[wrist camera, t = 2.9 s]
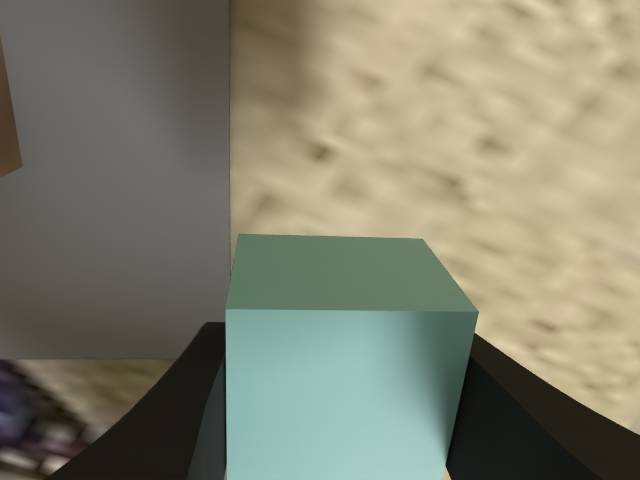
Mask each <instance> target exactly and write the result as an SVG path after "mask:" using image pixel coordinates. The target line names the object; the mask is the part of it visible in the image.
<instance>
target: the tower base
mask: <svg viewBox="0 0 640 480" xmlns="http://www.w3.org/2000/svg"><path fill="white" fill-rule="evenodd" d="M21 167H23V164H22V158H21V153H20V147H19V141H18V135H17V129H16V123H15V117H14V112H13V106H12V100H11V94H10V88H9V82H8V77H7V71H6V65H5V59H4V53H3V47H2V41H1V36H0V178H2V177H4V176H5V175H7V174H9V173H11V172H13V171H15V170H17V169H19V168H21Z"/></svg>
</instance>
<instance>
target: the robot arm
mask: <svg viewBox="0 0 640 480" xmlns="http://www.w3.org/2000/svg"><path fill="white" fill-rule="evenodd" d="M445 466H446V468H447V471H448V473H449V475H450V478H451V480H640V435H638V434H636V433H634V432H632V431H630V430H628V429H627V428H625V427H623V426H621V425H619V424H617V423H615V422H613V421H612V420H610V419H608V418H606V417H604V416H602V415H600V414H598V413H597V412H595V411H593V410H591V409H590V408H588V407H586V406H584V405H583V404H581V403H579V402H577V401H576V400H574V399H573V398H571V397H569V396H568V395H566V394H564V393H563V392H561V391H560V390H558V389H556V388H555V387H553V386H552V385H550V384H548V383H547V382H545V381H544V380H542V379H541V378H539V377H538V376H536V375H535V374H533V373H532V372H530V371H529V370H527V369H526V368H524V367H523V366H521V365H520V364H519V363H517V362H516V361H514V360H513V359H511V358H510V357H508V356H507V355H506V354H504V353H503V352H501V351H500V350H498V349H497V348H496V347H494V346H493V345H491V344H490V343H489V342H487V341H486V340H484V339H483V338H481V337H480V336H478V335H477V334H476V333H474V336H473V341H472V345H471V350H470V354H469V359H468V364H467V368H466V373H465V377H464V382H463V387H462V391H461V396H460V400H459V405H458V410H457V414H456V419H455V423H454V428H453V433H452V437H451V442H450V446H449V451H448V456H447V460H446V465H445ZM44 480H227V425H226V322H206V323H205V324H204V325H203V326H202V327H201V328H200V330H199V331H198V333H197V334H196V335H195V337H194V338H193V340H192V341H191V342H190V344H189V345H188V346H187V348H186V349H185V350H184V351H183V353H182V354H181V355H180V356H179V358H178V359H177V360H176V361H175V362H174V364H173V365H172V366H171V367H170V368H169V369H168V371H167V372H166V373H165V374H164V375H163V377H162V378H161V379H160V380H159V381H158V382H157V383H156V384H155V385H154V386H153V387H152V388H151V389H150V390H149V391H148V392H147V394H146V395H145V396H144V397H143V398H142V399H141V400H140V401H139V402H138V403H137V404H136V405H135V406H134V407H133V408H132V409H131V410H130V411H129V412H128V413H127V414H126V415H124V416H123V417H122V418H121V419H120V420H119V421H118V422H117V423H116V424H115V425H114V426H112V427H111V428H110V429H109V430H108V431H107V432H105V433H104V434H103V435H102V436H101V437H100V438H98V439H97V440H96V441H95V442H94V443H92V444H91V445H90V446H89V447H87V448H86V449H85V450H83V451H82V452H81V453H79V454H78V455H77V456H75V457H74V458H73V459H71V460H70V461H69V462H67V463H66V464H65V465H63V466H62V467H61V468H59V469H58V470H57V471H55V472H54V473H53V474H51V475H50V476H48V477H47V478H45V479H44Z"/></svg>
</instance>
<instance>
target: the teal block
mask: <svg viewBox="0 0 640 480" xmlns="http://www.w3.org/2000/svg"><path fill="white" fill-rule="evenodd" d="M478 313H479V311H478V310H477V309H476V308H475V306H474V305H473V304H472V302H471V301H470V300H469V298H468V297H467V296H466V295H465V293H464V292H463V291H462V289H461V288H460V287H459V285H458V284H457V283H456V282H455V280H454V279H453V278H452V276H451V275H450V274H449V272H448V271H447V270H446V269H445V267H444V266H443V265H442V263H441V262H440V261H439V259H438V258H437V257H436V256H435V254H434V253H433V252H432V250H431V249H430V248H429V247H428V245H427V244H426V243H425V241H424V240H423V239H410V238H374V237H337V236H300V235H263V234H238V239H237V245H236V251H235V257H234V263H233V269H232V274H231V280H230V286H229V292H228V298H227V304H226V425H227V480H442V479H443V474H444V469H445V465H446V460H447V456H448V451H449V446H450V442H451V437H452V433H453V428H454V423H455V419H456V414H457V410H458V405H459V400H460V396H461V391H462V387H463V382H464V377H465V373H466V368H467V364H468V359H469V354H470V350H471V345H472V341H473V336H474V331H475V327H476V322H477V318H478Z"/></svg>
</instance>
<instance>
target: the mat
mask: <svg viewBox="0 0 640 480" xmlns="http://www.w3.org/2000/svg"><path fill="white" fill-rule="evenodd" d="M0 36H1V41H2V47H3V53H4V59H5V65H6V71H7V77H8V82H9V88H10V94H11V100H12V106H13V112H14V117H15V123H16V129H17V135H18V141H19V147H20V153H21V158H22V164H23V167H21V168H19V169H17V170H15V171H13V172H11V173H9V174H7V175H5V176H4V177H2V178H0V359H178V358H179V356H180V355H181V354H182V353H183V351H184V350H185V349H186V348H187V346H188V345H189V344H190V342H191V341H192V340H193V338H194V337H195V335H196V334H197V333H198V331H199V330H200V328H201V327H202V326H203V325H204V324H205V323H206V322H226V304H227V298H228V292H229V286H230V280H231V279H230V71H229V0H0Z"/></svg>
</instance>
